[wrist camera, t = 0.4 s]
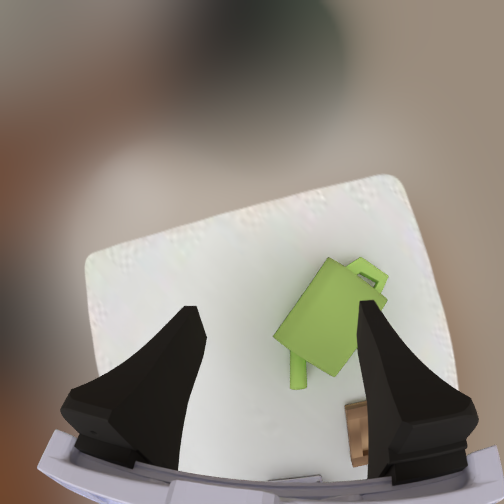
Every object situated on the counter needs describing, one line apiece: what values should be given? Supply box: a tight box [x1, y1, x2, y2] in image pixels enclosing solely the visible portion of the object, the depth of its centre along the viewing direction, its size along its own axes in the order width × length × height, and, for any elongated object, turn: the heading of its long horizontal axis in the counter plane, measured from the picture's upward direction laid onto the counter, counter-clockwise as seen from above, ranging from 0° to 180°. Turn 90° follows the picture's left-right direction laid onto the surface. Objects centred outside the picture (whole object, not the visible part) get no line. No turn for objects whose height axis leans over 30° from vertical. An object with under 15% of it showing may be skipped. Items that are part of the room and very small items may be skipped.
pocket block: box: [345, 401, 368, 467], centre depth 35 cm, size 9×11×3 cm
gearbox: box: [273, 257, 388, 390], centre depth 37 cm, size 18×10×10 cm, turn 143°
